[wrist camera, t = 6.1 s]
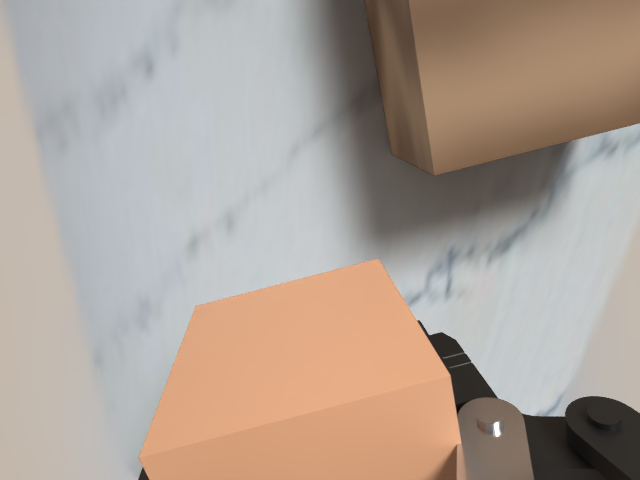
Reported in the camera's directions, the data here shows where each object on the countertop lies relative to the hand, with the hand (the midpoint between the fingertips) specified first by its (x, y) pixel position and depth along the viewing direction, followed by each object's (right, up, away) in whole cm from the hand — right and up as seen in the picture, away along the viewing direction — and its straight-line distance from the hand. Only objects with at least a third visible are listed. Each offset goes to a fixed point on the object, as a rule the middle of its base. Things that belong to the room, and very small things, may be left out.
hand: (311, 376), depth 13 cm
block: (0, 0, +1) cm, 1 cm away
